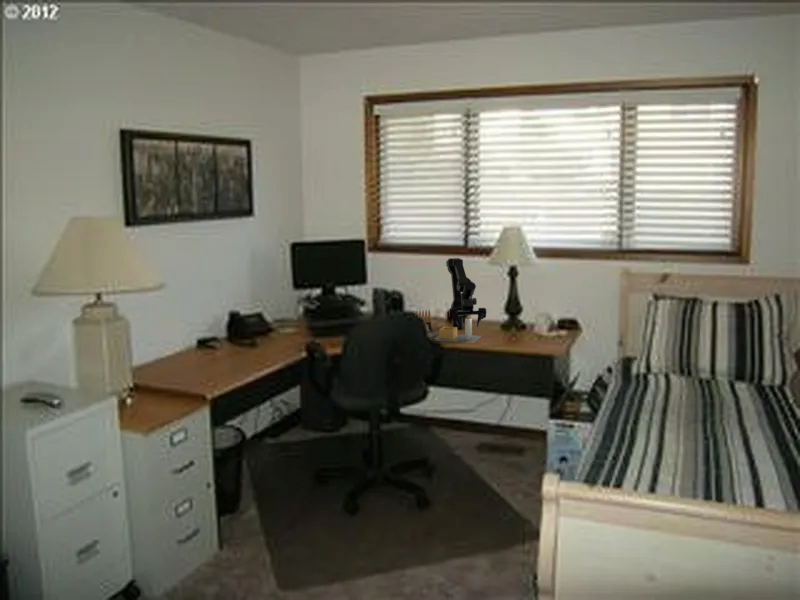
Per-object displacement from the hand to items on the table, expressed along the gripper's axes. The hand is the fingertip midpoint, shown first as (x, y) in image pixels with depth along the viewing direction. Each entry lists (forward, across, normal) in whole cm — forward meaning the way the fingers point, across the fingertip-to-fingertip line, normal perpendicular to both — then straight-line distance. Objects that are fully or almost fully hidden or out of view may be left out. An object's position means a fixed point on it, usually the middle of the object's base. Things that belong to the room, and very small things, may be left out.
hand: (468, 326), depth 354 cm
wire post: (+5, 0, +5) cm, 7 cm away
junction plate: (+2, -6, +9) cm, 11 cm away
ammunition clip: (-13, -24, +24) cm, 36 cm away
